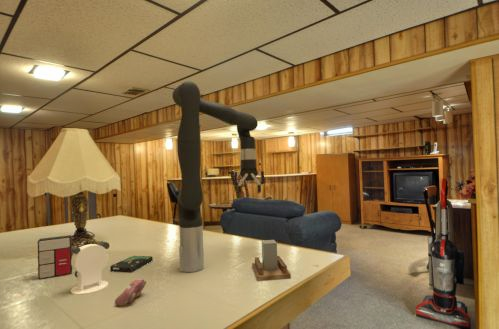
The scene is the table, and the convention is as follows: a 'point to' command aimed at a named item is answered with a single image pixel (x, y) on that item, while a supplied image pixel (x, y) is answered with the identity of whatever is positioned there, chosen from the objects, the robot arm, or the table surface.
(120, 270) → the disk drive
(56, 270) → the grey and red box
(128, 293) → the pink lumpy piece
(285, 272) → the walnut stand
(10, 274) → the table surface
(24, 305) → the table surface
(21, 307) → the table surface
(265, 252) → the block
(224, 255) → the table surface
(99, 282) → the white rounded upright piece
